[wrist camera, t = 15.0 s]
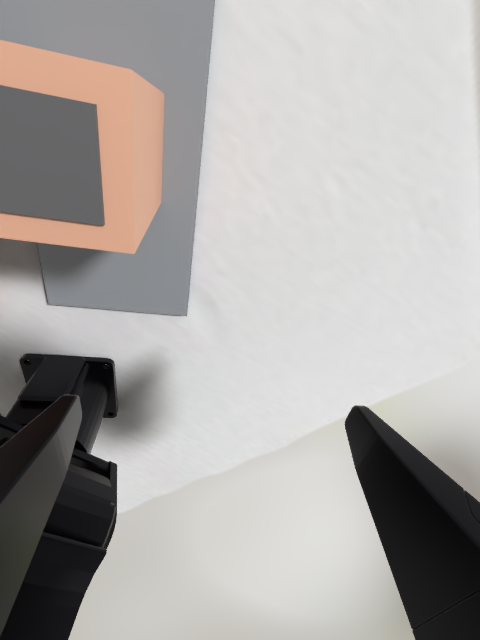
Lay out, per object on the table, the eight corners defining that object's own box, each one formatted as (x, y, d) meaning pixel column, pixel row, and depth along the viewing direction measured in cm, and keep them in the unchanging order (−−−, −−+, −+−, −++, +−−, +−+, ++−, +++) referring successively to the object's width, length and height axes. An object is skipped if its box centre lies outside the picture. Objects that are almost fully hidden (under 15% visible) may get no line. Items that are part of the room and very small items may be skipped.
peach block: (161, 202, 17) (133, 255, 10) (65, 187, 16) (-35, 235, 9) (164, 93, 14) (129, 68, 8) (50, 68, 13) (-106, 15, 7)
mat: (187, 313, 22) (186, 316, 21) (51, 301, 20) (48, 304, 20) (227, -145, 11) (228, -153, 11) (-55, -248, 9) (-65, -261, 9)
